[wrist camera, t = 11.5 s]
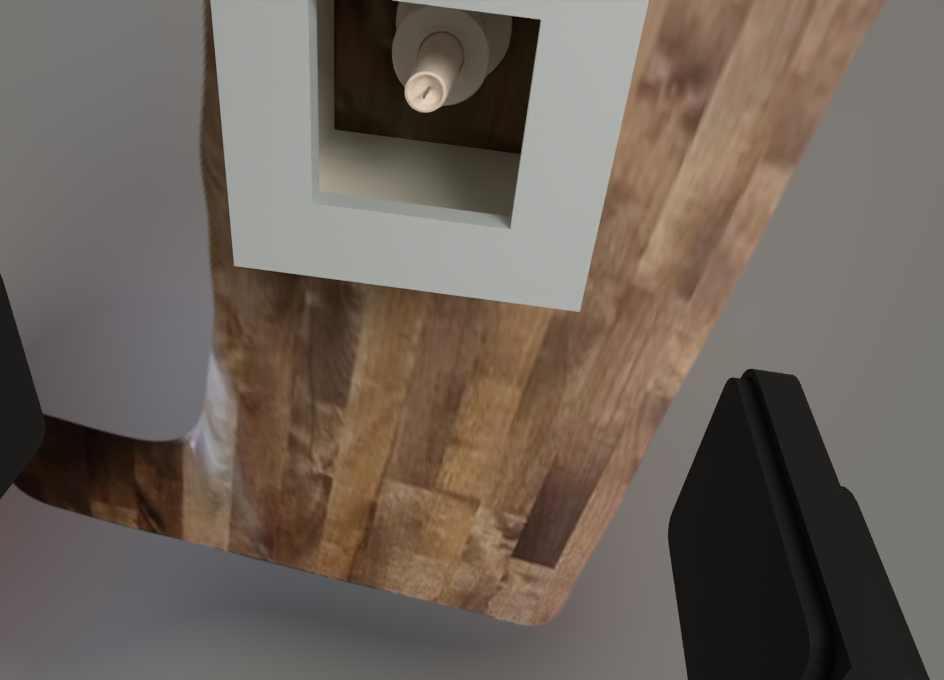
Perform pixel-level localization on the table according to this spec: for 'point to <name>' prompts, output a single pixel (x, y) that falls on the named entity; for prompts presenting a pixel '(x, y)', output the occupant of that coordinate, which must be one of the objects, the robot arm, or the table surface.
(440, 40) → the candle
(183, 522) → the table surface
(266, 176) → the drop box
